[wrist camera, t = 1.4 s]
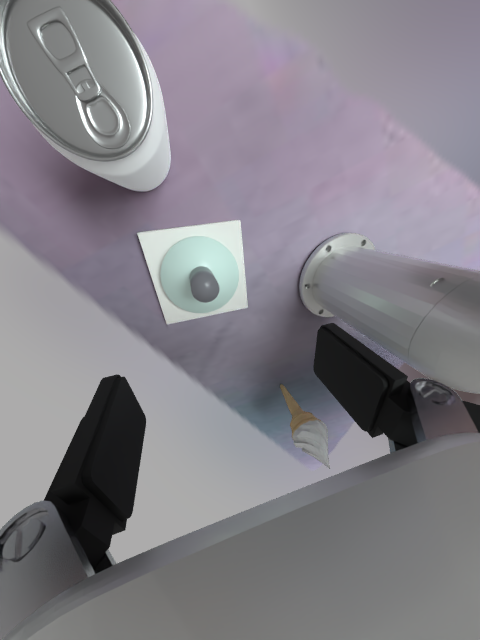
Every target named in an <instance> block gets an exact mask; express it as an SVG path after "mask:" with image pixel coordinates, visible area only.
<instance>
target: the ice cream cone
mask: <svg viewBox="0 0 480 640" xmlns="http://www.w3.org/2000/svg"><path fill="white" fill-rule="evenodd" d="M280 388H281V390H282V393H283V395H284V398H285V400H286V403H287V405H288V408H289V410H290V412H291V414H292V421H291V423H290V426H291V429H292V438H293V440H294V445H295V446H296V447H300V448H303V449H302V451H304V452H305V453H307V454H309V455H311V456H313V457H315V458H316V459H317V460H319V461H320V462H322V463H323V464H324V465H325V466H327V467H328V468H329V469H330V465H329V458H328V433H327V431H328V429H327V427H326V425H325V424H324V423H323V422H322V421H321V420H319V419H317V418H315V417H314V416H313V415H312V413H310V412H305V411H303V410H302V409H301V408H300V406H299V405H298V404H297V402H296V401H295V400H294V398H293V397H292V396H291V394H290V393H289V392H288V391H287V389H286V388H285V387H284V385H282V384H281V385H280Z"/></svg>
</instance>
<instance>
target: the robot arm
mask: <svg viewBox="0 0 480 640" xmlns="http://www.w3.org/2000/svg"><path fill="white" fill-rule="evenodd" d="M299 291H300V297H301V300H302V302H303V304H304V306H305V307H306V308H307V309H308V310H309V311H311V312H312V313H313V314H315V315H317V316H320V317H334V316H336V317H338V318H339V319H341V320H342V321H344V322H345V323H347V324H348V325H350V326H351V327H353V328H354V329H356V330H357V331H359V332H360V333H362V334H363V335H365V336H366V337H368V338H369V339H371V340H372V341H374V342H375V343H377V344H378V345H380V346H381V347H383V348H384V349H386V350H387V351H389V352H390V353H392V354H393V355H395V356H396V357H398V358H399V359H401V360H402V361H404V362H405V363H407V364H408V365H410V366H411V367H413V368H415V369H416V370H418V371H419V372H421V373H422V374H424V375H425V376H427V377H429V378H430V379H426V378H418V379H414V380H413V381H412V382H411V383H409V382H408V381H407V377H408V376H406V375H405V374H404V373H402V372H401V371H399V370H398V369H397V368H395V367H394V366H393V365H391V364H390V363H388V362H387V361H386V360H384V359H383V358H381V357H380V356H379V355H377V354H376V353H374V352H373V351H372V350H370V349H369V348H368V347H366V346H365V345H363V344H362V343H361V342H359V341H358V340H356V339H355V338H354V337H352V336H351V335H349V334H348V333H347V332H345V331H344V330H343V329H341V328H340V327H338V326H337V325H336V324H334V323H330V324H326V325H322V326H321V327H320V329H319V330H318V334H317V342H316V351H315V359H314V372H315V374H316V375H317V377H318V378H319V379H320V380H321V381H322V383H323V384H324V385H325V386H326V387H327V389H328V390H329V391H330V392H331V393H332V394H333V396H334V397H335V398H336V399H337V400H338V402H339V403H340V404H341V405H342V406H343V408H344V409H345V410H346V411H347V412H348V413H349V415H350V416H351V417H352V418H353V419H354V421H355V422H356V423H357V424H358V425H359V426H360V428H361V429H362V430H364V431H367V432H368V433H369V435H370V436H371V437H372V438H373V437H376V436H378V435H381V434H383V433H384V434H385V435H386V436H387V437H388V440H389V446H390V454H387V455H385V456H382V457H380V458H377V459H375V460H372V461H369V462H367V463H365V464H362V465H359V466H357V467H354V468H352V469H349V470H346V471H344V472H341V473H339V474H337V475H334V476H331V477H329V478H326V479H324V480H321V481H319V482H316V483H314V484H311V485H308V486H306V487H304V488H301V489H298V490H296V491H293V492H291V493H288V494H286V495H283V496H281V497H279V498H276V499H273V500H271V501H268V502H266V503H263V504H261V505H258V506H256V507H253V508H251V509H249V510H246V511H244V512H241V513H238V514H236V515H233V516H231V517H229V518H226V519H223V520H221V521H219V522H216V523H214V524H211V525H209V526H206V527H204V528H201V529H199V530H196V531H194V532H192V533H189V534H187V535H184V536H182V537H179V538H176V539H174V540H172V541H169V542H167V543H165V544H163V545H160V546H158V547H155V548H153V549H150V550H148V551H146V552H143V553H141V554H139V555H136V556H134V557H132V558H129V559H127V560H125V561H122V562H120V563H118V564H116V562H115V560H114V559H113V557H112V555H111V554H110V552H109V550H108V548H109V547H110V542H111V538H112V535H114V534H116V533H119V532H122V531H124V530H125V528H126V521H127V519H128V518H130V517H131V514H132V511H133V506H134V499H135V493H136V486H137V479H138V472H139V466H140V460H141V453H142V446H143V439H144V433H145V427H146V418H145V415H144V413H143V411H142V409H141V407H140V405H139V403H138V401H137V399H136V397H135V395H134V393H133V391H132V389H131V387H130V386H129V384H128V382H127V380H126V378H125V377H121V376H120V375H114V376H109V377H105V378H103V379H102V380H101V382H100V384H99V386H98V388H97V391H96V393H95V395H94V397H93V400H92V402H91V404H90V406H89V408H88V411H87V413H86V415H85V417H83V419H82V420H81V422H80V424H79V426H78V428H77V430H76V432H75V435H74V437H73V439H72V441H71V443H70V445H69V447H68V450H67V452H66V454H65V456H64V458H63V460H62V463H61V465H60V467H59V469H58V471H57V473H56V475H55V477H54V480H53V482H52V484H51V486H50V488H49V491H48V493H47V495H46V497H45V499H44V501H40V502H36V503H34V504H32V505H30V506H28V507H26V508H24V509H23V510H22V511H20V512H19V513H17V514H16V515H15V516H14V517H13V518H12V519H10V520H9V521H8V522H7V523H6V524H5V525H4V526H3V527H2V529H1V530H0V640H480V405H476V404H473V403H469V402H465V401H462V400H461V398H460V397H459V396H458V394H457V393H456V392H455V391H453V390H452V389H451V388H453V389H456V390H460V391H465V392H471V393H478V394H480V271H478V270H473V269H467V268H462V267H457V266H452V265H447V264H442V263H437V262H432V261H427V260H422V259H417V258H412V257H407V256H402V255H397V254H392V253H387V252H382V251H377V250H376V249H375V247H374V245H373V243H372V242H371V241H370V240H369V239H368V238H367V237H365V236H363V235H360V234H356V233H342V234H338V235H335V236H333V237H331V238H329V239H327V240H326V241H324V242H323V243H322V244H321V245H320V246H318V247H317V248H316V249H315V251H314V252H313V253H312V254H311V255H310V257H309V259H308V260H307V262H306V263H305V266H304V268H303V270H302V273H301V277H300V284H299ZM431 379H432V380H431ZM449 387H450V388H449Z"/></svg>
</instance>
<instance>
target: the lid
mask: <svg viewBox="0 0 480 640" xmlns="http://www.w3.org/2000/svg"><path fill="white" fill-rule="evenodd" d="M160 276H161V283H162V286H163V289H164V291H165V293H166V295H167V296H168V298H169V299H170V300H171V301H172V302H173V303H174V304H175V305H177V306H178V307H180V308H181V309H184V310H186V311H189V312H193V313H208V312H212V311H215V310H217V309H219V308H221V307H222V306H224V305H225V304H226V303H227V302H229V300H230V299H231V298H232V297H233V295H234V293H235V291H236V289H237V286H238V282H239V270H238V265H237V262H236V260H235V258H234V256H233V255H232V253H231V252H230V251H229V250H228V249H227V248H226V247H225V246H224V245H223V244H221V243H220V242H218V241H216V240H215V239H212V238H209V237H205V236H192V237H188V238H185V239H182V240H180V241H179V242H177V243H176V244H174V245H173V246H172V247H171V248H170V249H169V251H168V252H167V253H166V255H165V257H164V260H163V262H162V266H161V274H160Z"/></svg>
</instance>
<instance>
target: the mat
mask: <svg viewBox="0 0 480 640" xmlns="http://www.w3.org/2000/svg"><path fill="white" fill-rule="evenodd" d="M137 234H138V237H139V240H140V243H141V246H142V249H143V252H144V255H145V259H146V262H147V265H148V268H149V271H150V274H151V277H152V280H153V283H154V286H155V289H156V293H157V296H158V299H159V302H160V305H161V308H162V311H163V314H164V317H165V320H166V323H167V324H172V323H177V322H181V321H186V320H191V319H196V318H201V317H205V316H210V315H215V314H220V313H225V312H229V311H234V310H239V309H244V308H248V304H247V292H246V281H245V269H244V257H243V246H242V234H241V222H240V220H233V221H225V222H217V223H209V224H201V225H193V226H185V227H177V228H169V229H161V230H153V231H145V232H138V233H137ZM192 236H205V237H209V238H212V239H215V240H216V241H218V242H220V243H221V244H223V245H224V246H225V247H226V248H227V249H228V250H229V251H230V252H231V253H232V255H233V256H234V258H235V260H236V262H237V265H238V270H239V282H238V286H237V289H236V291H235V293H234V295H233V297H232V298H231V299H230V300H229V302H227V303H226V304H225V305H224V306H222V307H221V308H219V309H217V310H215V311H212V312H208V313H193V312H189V311H186V310H184V309H181V308H180V307H178V306H177V305H175V304H174V303H173V302H172V301H171V300H170V299H169V298H168V296H167V295H166V293H165V291H164V289H163V286H162V283H161V276H160V274H161V266H162V262H163V260H164V257H165V255H166V253H167V252H168V251H169V249H170V248H171V247H172V246H173V245H174V244H176V243H177V242H179V241H180V240H182V239H185V238H188V237H192Z"/></svg>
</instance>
